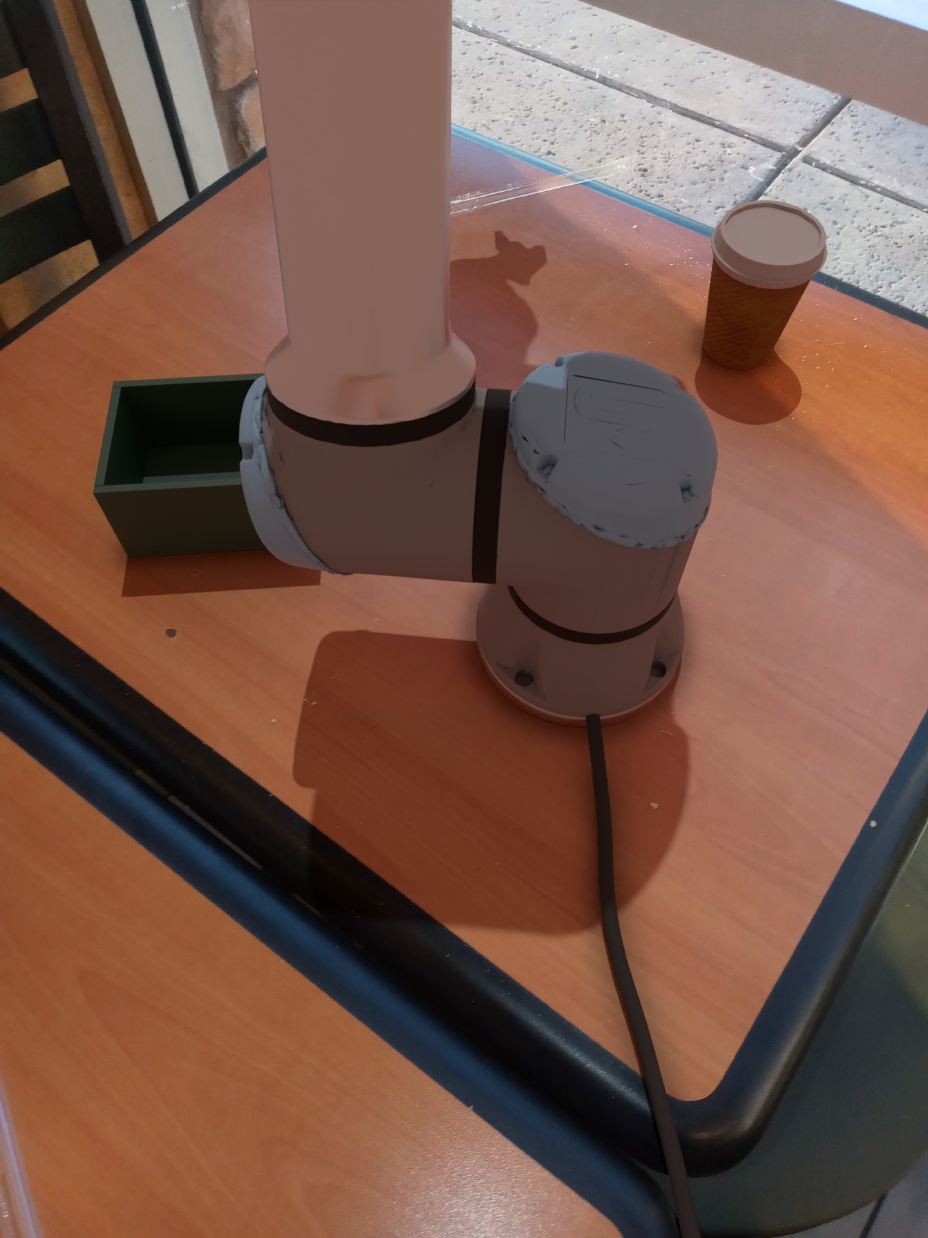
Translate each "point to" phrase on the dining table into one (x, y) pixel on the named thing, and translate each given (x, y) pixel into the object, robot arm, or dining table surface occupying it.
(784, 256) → the disposable coffee cup
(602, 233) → the dining table surface
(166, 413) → the open rectangular storage bin
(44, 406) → the dining table surface
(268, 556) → the dining table surface
